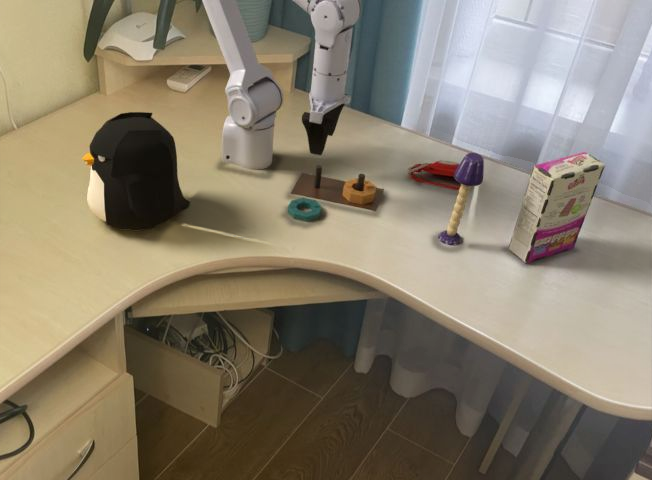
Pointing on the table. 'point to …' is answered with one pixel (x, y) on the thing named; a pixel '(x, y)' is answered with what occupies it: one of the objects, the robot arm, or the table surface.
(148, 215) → the penguin
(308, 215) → the teal ring
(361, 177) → the peg rack
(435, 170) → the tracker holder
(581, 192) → the candy bar box
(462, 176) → the toy lamp
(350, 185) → the ochre ring
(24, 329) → the table surface
